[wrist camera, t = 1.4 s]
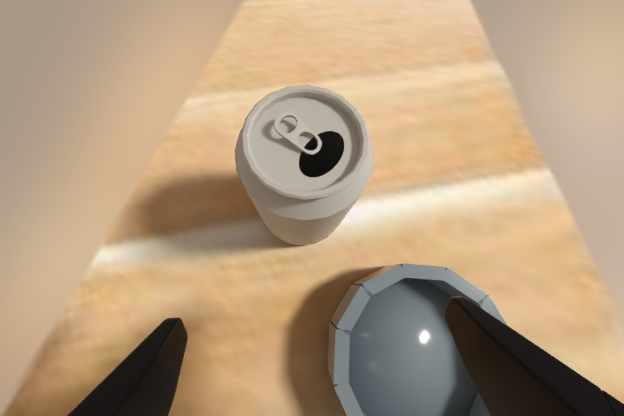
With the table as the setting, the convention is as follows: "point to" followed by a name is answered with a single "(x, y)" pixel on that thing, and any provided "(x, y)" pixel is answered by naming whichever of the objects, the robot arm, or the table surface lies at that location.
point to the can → (303, 161)
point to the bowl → (403, 345)
